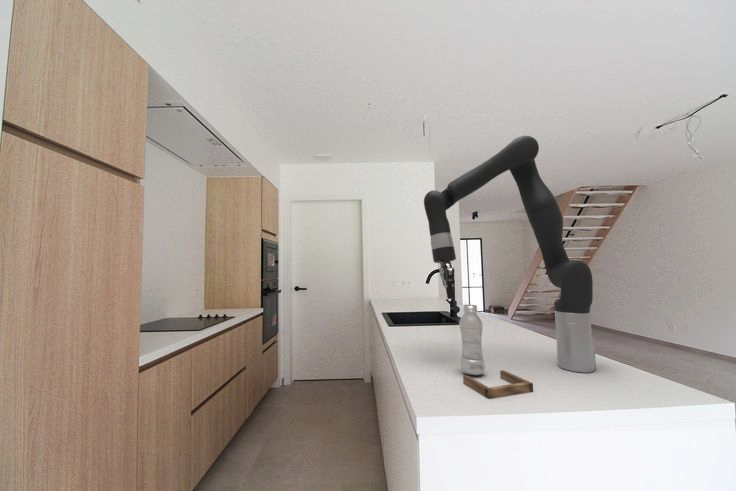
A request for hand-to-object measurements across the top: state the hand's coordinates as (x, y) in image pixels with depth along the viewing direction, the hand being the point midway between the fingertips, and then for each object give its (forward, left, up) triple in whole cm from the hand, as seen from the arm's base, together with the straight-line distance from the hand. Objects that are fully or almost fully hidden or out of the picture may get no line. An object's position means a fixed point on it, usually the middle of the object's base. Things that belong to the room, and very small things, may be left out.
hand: (451, 298), depth 99 cm
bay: (0, +20, -21) cm, 29 cm away
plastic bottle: (0, +10, -21) cm, 24 cm away
